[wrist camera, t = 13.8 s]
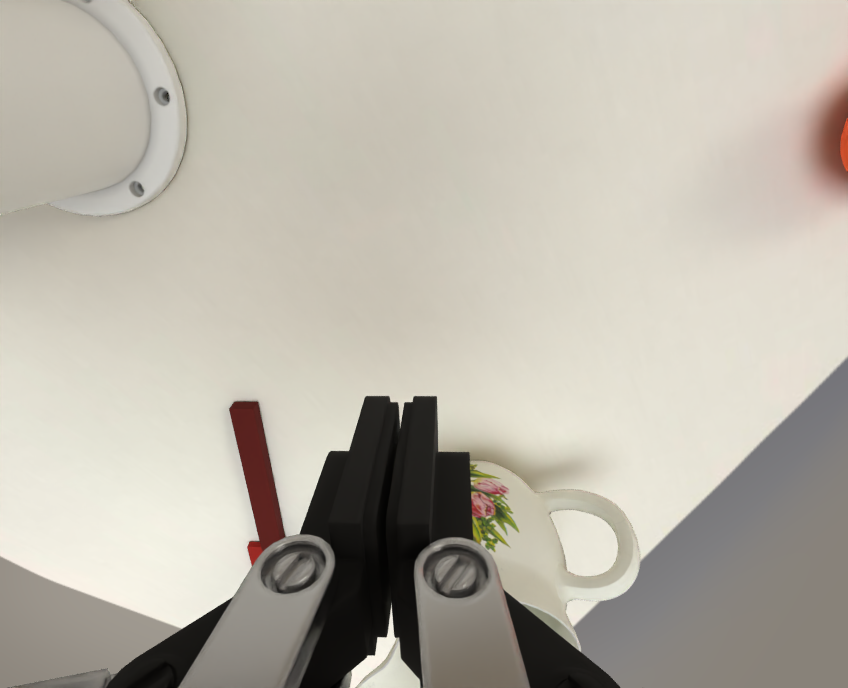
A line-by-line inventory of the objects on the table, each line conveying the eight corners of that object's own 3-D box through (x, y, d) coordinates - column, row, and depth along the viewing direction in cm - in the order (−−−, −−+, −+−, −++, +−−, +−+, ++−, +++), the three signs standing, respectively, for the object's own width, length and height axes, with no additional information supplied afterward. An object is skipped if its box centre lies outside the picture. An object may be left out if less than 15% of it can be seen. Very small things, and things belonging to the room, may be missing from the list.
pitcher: (622, 508, 40) (699, 694, 27) (412, 567, 44) (397, 752, 31) (580, 396, 35) (648, 556, 23) (353, 473, 39) (307, 644, 27)
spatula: (263, 597, 46) (259, 607, 45) (215, 401, 37) (209, 408, 36) (313, 599, 46) (310, 608, 45) (277, 401, 37) (272, 409, 36)
